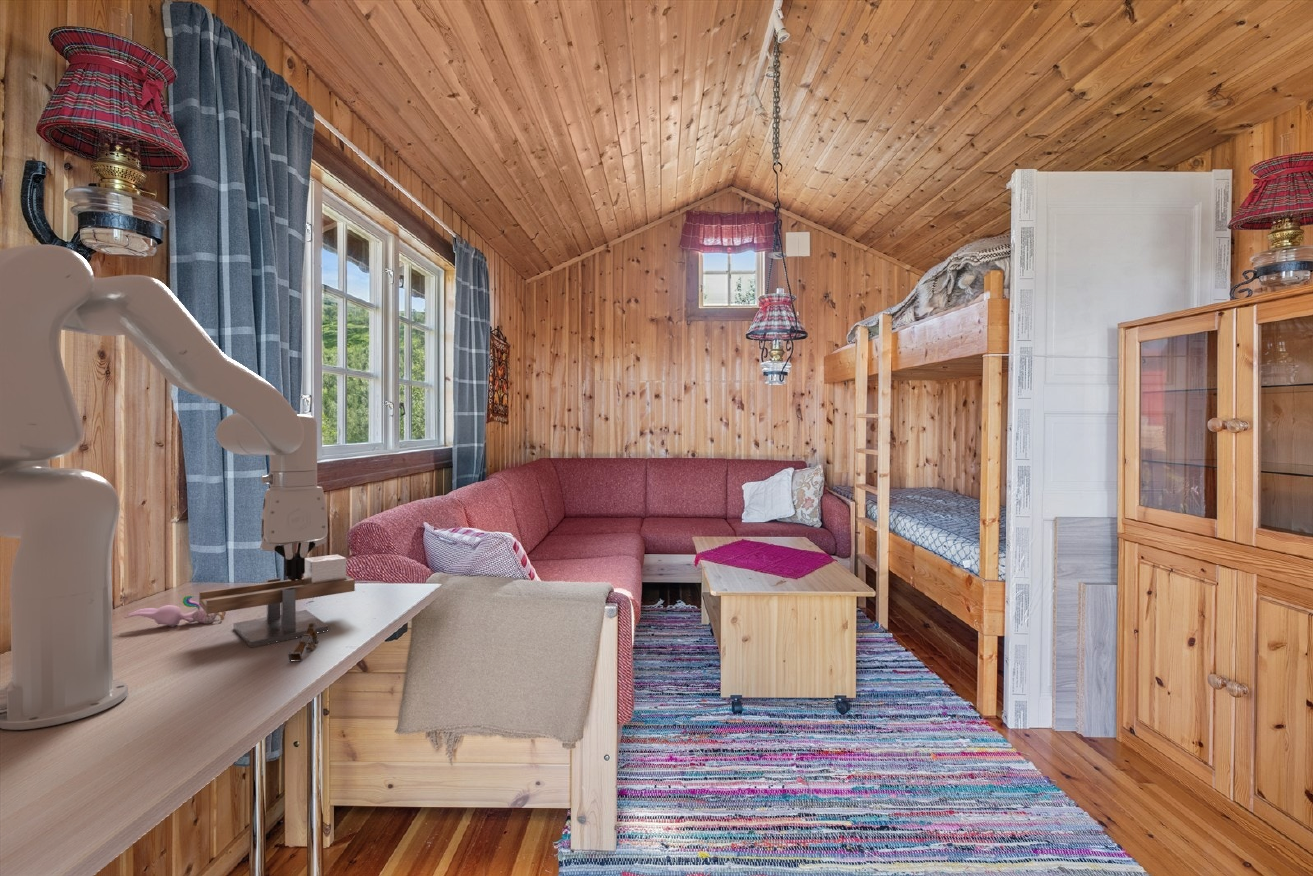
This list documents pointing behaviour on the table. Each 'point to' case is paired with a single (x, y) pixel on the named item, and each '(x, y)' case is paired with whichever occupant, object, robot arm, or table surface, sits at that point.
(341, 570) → the white block
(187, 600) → the pink animal figure
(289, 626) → the pivot stand
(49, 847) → the table surface
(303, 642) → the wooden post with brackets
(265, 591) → the balance beam
